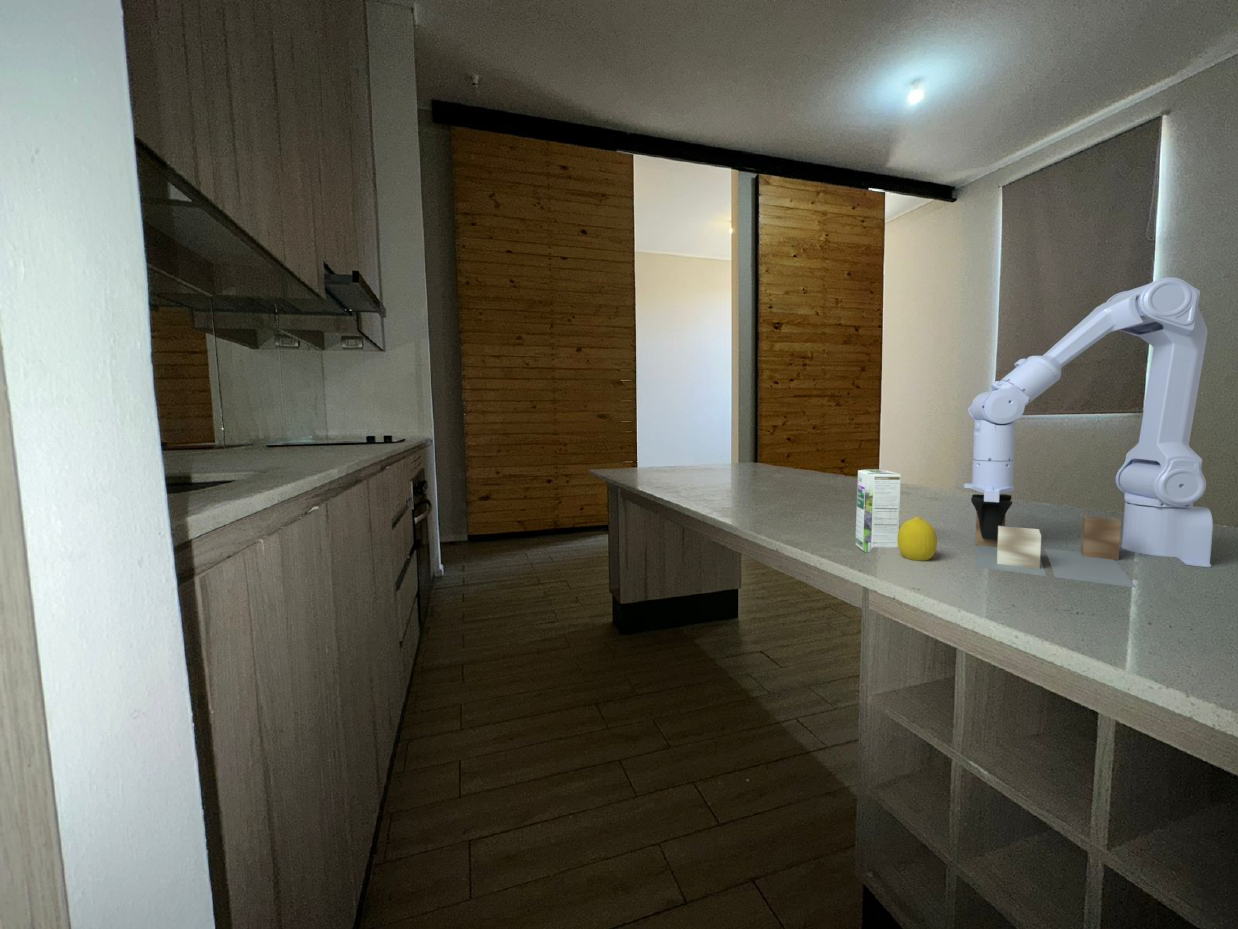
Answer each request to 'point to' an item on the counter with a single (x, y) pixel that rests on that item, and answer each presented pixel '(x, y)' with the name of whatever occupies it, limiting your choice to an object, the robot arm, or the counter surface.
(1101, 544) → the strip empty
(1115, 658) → the counter surface
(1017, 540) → the block
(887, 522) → the syrup box
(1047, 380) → the robot arm
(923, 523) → the lemon
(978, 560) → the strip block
